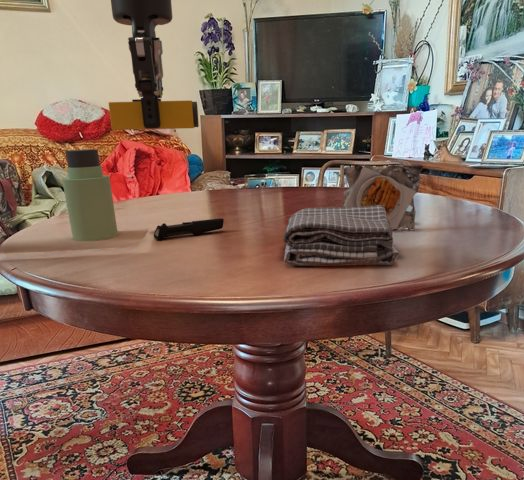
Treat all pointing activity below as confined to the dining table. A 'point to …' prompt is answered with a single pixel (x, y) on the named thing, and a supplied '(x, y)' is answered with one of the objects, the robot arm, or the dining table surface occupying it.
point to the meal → (385, 190)
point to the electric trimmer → (188, 228)
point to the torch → (170, 112)
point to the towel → (339, 237)
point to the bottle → (88, 197)
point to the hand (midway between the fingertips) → (154, 127)
